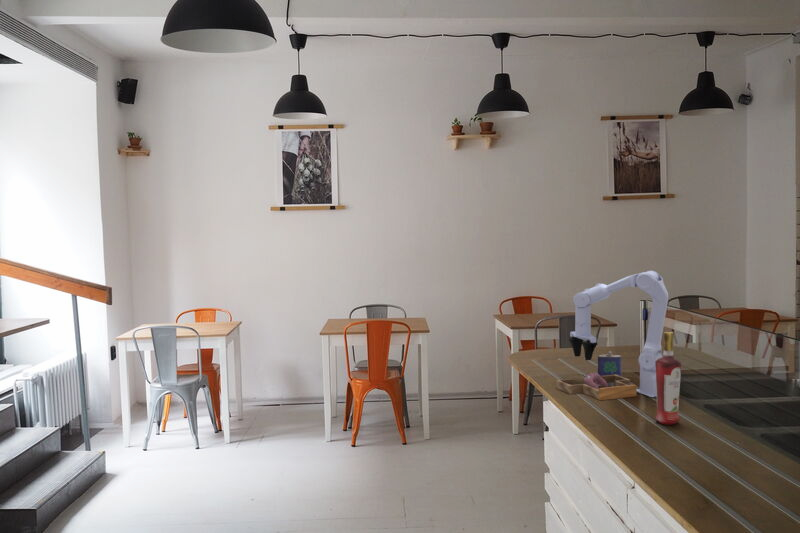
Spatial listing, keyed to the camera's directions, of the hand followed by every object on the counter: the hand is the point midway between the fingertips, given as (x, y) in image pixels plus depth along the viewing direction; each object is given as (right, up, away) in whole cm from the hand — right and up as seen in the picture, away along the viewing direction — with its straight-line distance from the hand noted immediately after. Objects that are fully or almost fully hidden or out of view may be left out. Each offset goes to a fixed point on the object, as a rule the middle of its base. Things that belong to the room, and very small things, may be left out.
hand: (582, 358), depth 242 cm
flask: (+13, -9, +9) cm, 19 cm away
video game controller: (+3, -11, -7) cm, 13 cm away
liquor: (+12, -13, -48) cm, 51 cm away
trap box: (+4, -11, -11) cm, 16 cm away
